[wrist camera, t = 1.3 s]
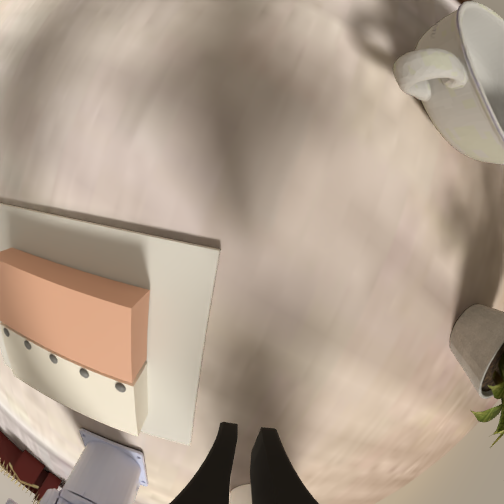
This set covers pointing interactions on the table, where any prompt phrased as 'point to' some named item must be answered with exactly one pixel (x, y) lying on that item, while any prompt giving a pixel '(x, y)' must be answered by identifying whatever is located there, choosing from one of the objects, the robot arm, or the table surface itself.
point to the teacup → (461, 80)
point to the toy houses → (26, 469)
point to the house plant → (482, 355)
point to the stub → (75, 313)
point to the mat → (144, 276)
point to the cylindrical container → (241, 495)
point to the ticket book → (79, 384)
